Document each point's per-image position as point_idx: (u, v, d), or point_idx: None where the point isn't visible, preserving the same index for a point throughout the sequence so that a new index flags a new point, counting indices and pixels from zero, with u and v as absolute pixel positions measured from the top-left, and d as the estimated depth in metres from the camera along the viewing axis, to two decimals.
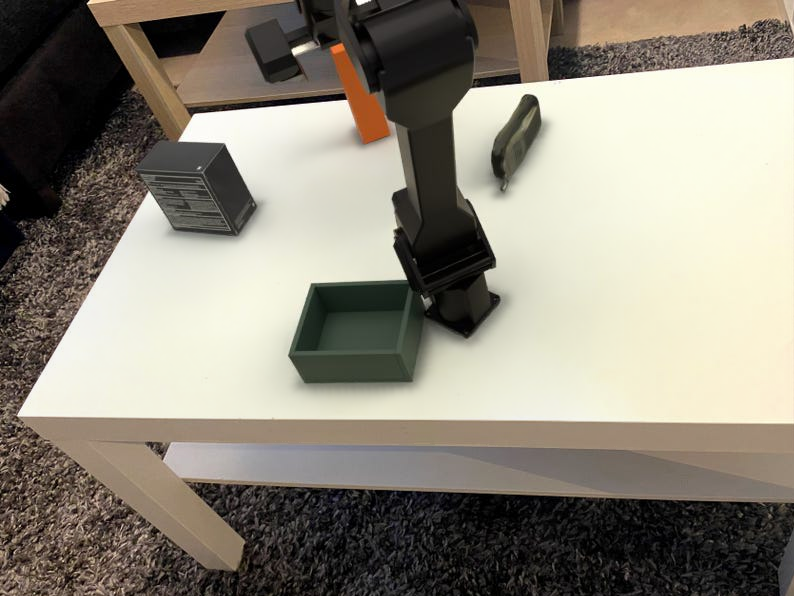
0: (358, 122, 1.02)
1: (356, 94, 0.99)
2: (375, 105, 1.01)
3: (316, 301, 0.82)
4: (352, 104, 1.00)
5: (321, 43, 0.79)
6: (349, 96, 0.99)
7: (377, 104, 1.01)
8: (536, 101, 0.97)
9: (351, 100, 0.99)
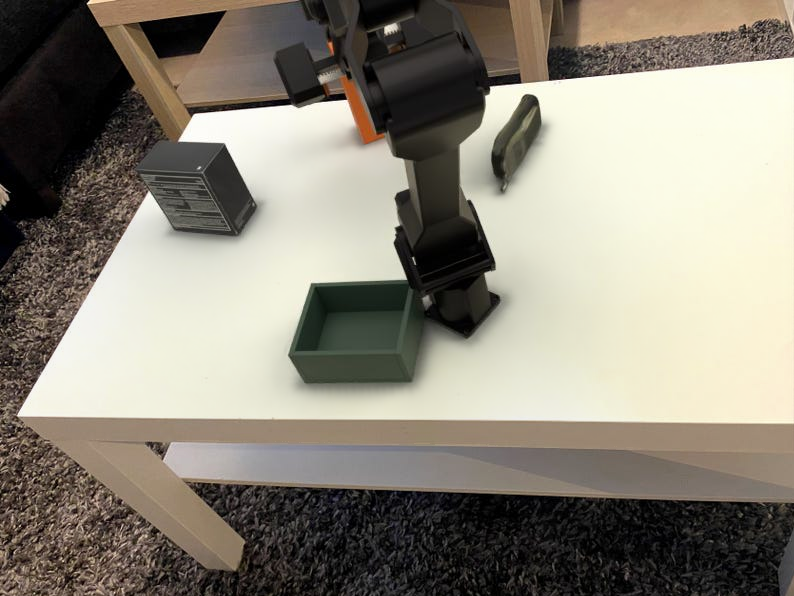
0: (358, 122, 1.02)
1: (356, 94, 0.99)
2: None
3: (316, 301, 0.82)
4: (352, 104, 1.00)
5: (349, 77, 0.83)
6: (349, 96, 0.99)
7: None
8: (536, 101, 0.97)
9: (351, 100, 0.99)
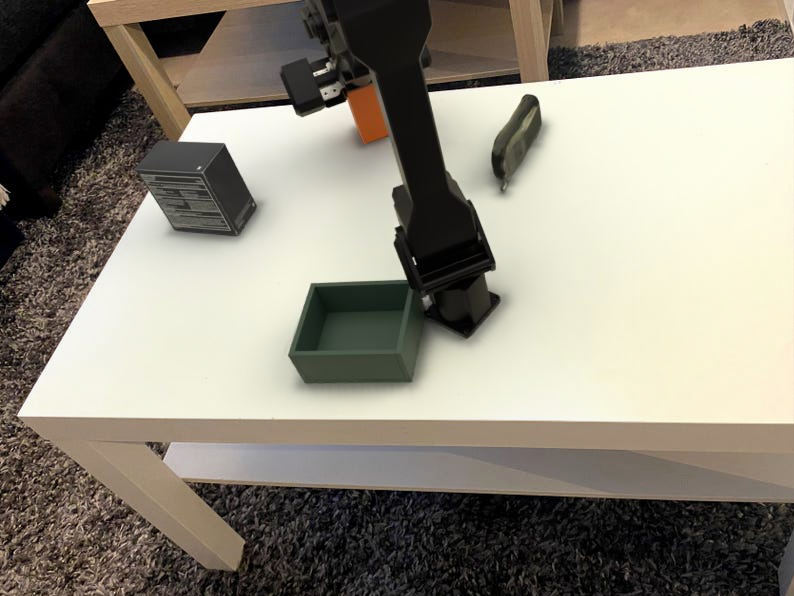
0: (358, 122, 1.02)
1: (356, 94, 0.99)
2: (375, 105, 1.01)
3: (316, 301, 0.82)
4: (352, 104, 1.00)
5: (347, 89, 0.92)
6: (349, 96, 0.99)
7: (377, 104, 1.01)
8: (536, 101, 0.97)
9: (351, 100, 0.99)
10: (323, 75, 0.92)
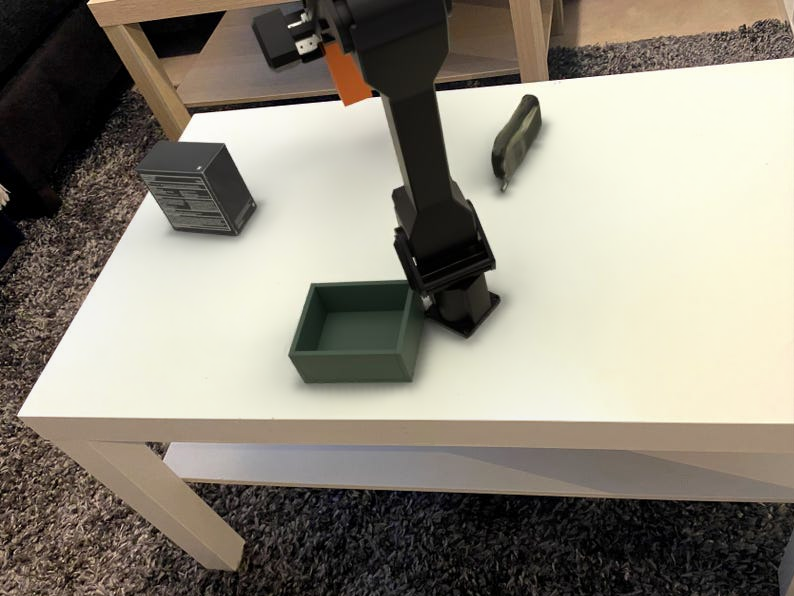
0: (337, 82, 0.96)
1: (334, 51, 0.93)
2: None
3: (316, 301, 0.82)
4: (330, 62, 0.93)
5: (324, 41, 0.85)
6: (327, 53, 0.92)
7: None
8: (536, 101, 0.97)
9: (329, 57, 0.93)
10: (298, 27, 0.86)
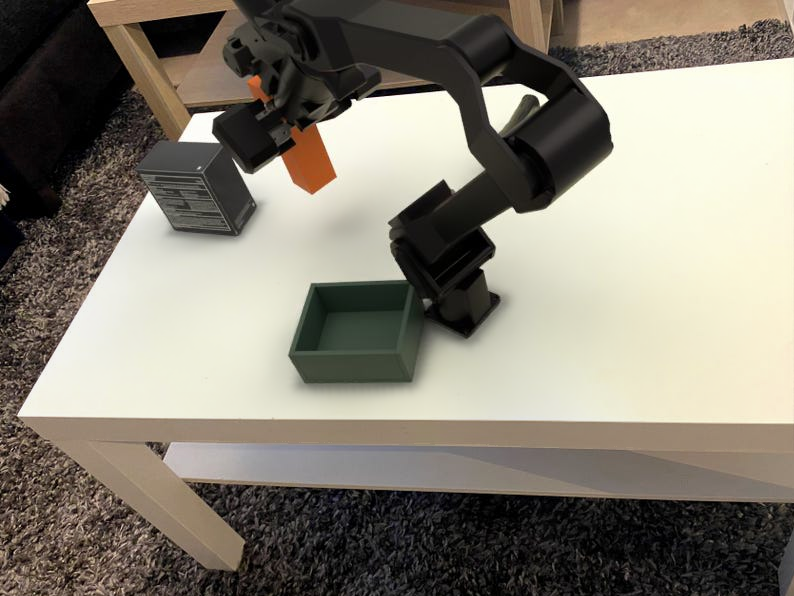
0: (302, 170, 0.86)
1: (296, 137, 0.83)
2: (318, 145, 0.85)
3: (316, 301, 0.82)
4: (293, 150, 0.83)
5: (303, 126, 0.76)
6: None
7: (319, 144, 0.85)
8: (537, 101, 0.97)
9: None
10: (267, 117, 0.75)
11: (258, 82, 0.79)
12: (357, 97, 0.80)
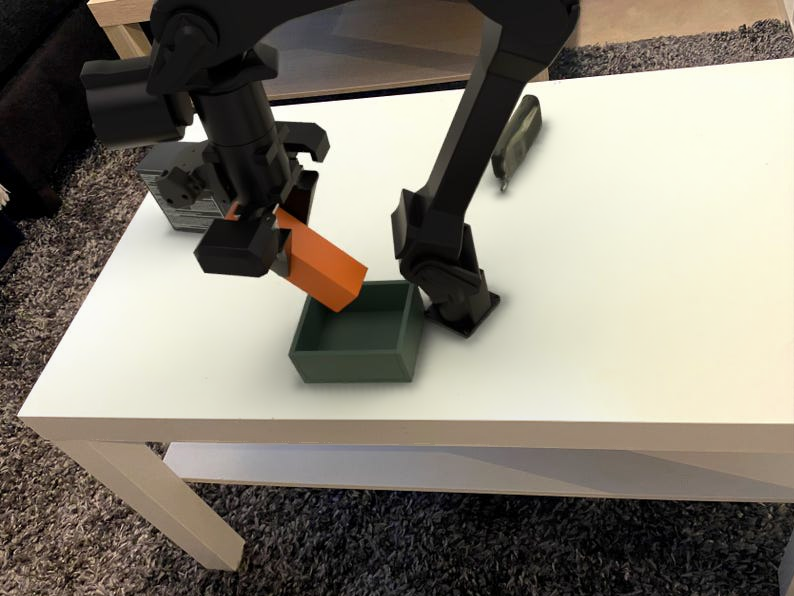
0: (327, 275, 0.72)
1: (295, 244, 0.70)
2: (324, 244, 0.73)
3: (316, 301, 0.82)
4: (302, 258, 0.70)
5: (278, 193, 0.64)
6: None
7: (324, 242, 0.73)
8: (537, 101, 0.97)
9: (297, 254, 0.70)
10: (242, 216, 0.64)
11: None
12: (314, 154, 0.69)
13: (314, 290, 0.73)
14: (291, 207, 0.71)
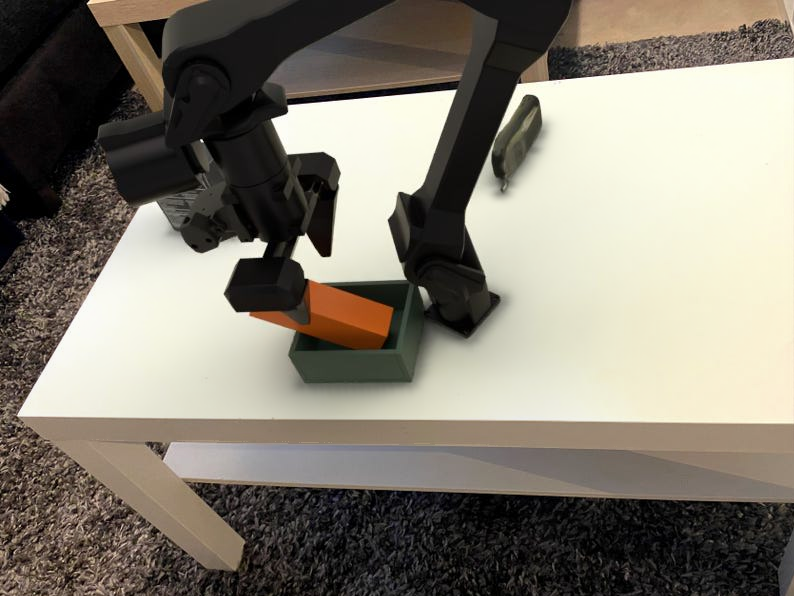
0: (354, 324, 0.76)
1: (318, 305, 0.76)
2: (346, 297, 0.77)
3: None
4: (327, 315, 0.75)
5: (298, 226, 0.65)
6: (315, 312, 0.75)
7: (346, 296, 0.78)
8: (537, 101, 0.97)
9: (322, 313, 0.75)
10: (266, 252, 0.65)
11: None
12: (327, 183, 0.70)
13: (349, 341, 0.78)
14: (316, 220, 0.74)
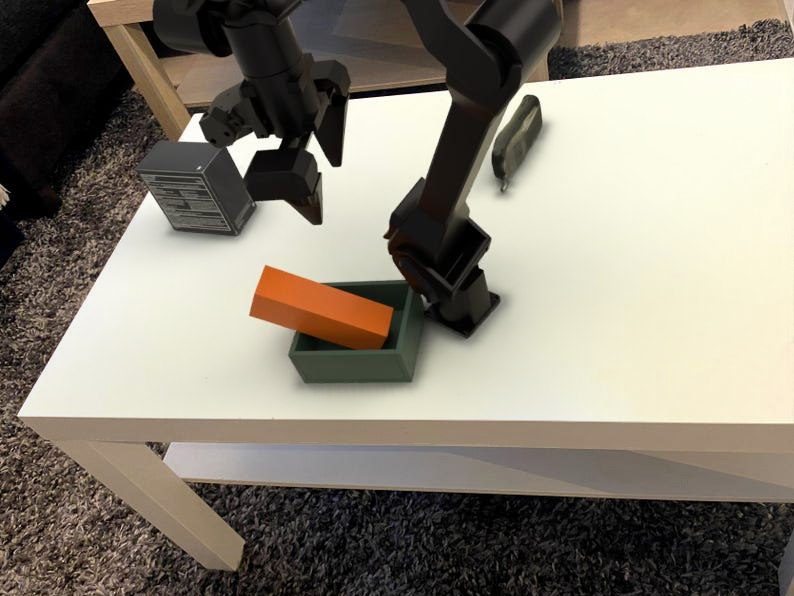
0: (354, 324, 0.76)
1: (318, 305, 0.76)
2: (346, 297, 0.77)
3: None
4: (327, 315, 0.75)
5: (312, 121, 0.68)
6: (315, 312, 0.75)
7: (346, 296, 0.78)
8: (537, 102, 0.97)
9: (322, 313, 0.75)
10: (281, 146, 0.68)
11: None
12: (338, 88, 0.74)
13: (349, 341, 0.78)
14: (327, 127, 0.77)
